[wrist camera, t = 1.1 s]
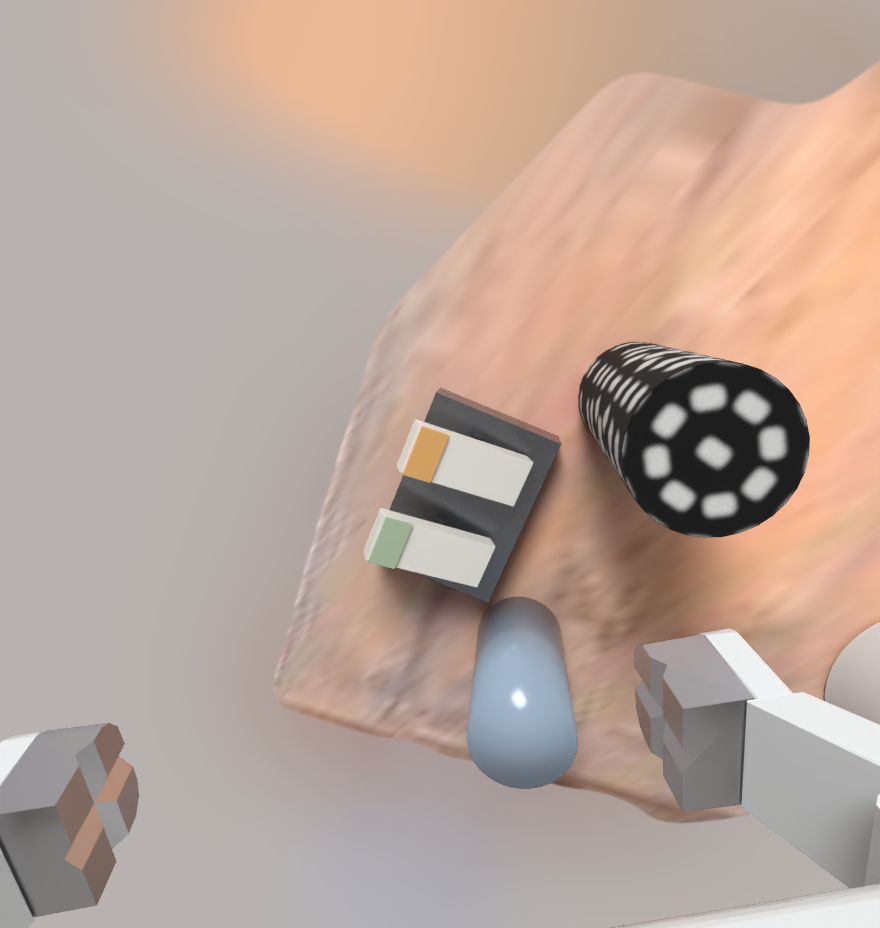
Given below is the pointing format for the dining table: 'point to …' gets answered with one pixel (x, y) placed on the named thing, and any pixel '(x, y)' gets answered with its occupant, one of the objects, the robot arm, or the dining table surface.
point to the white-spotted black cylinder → (696, 436)
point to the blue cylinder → (521, 697)
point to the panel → (472, 509)
